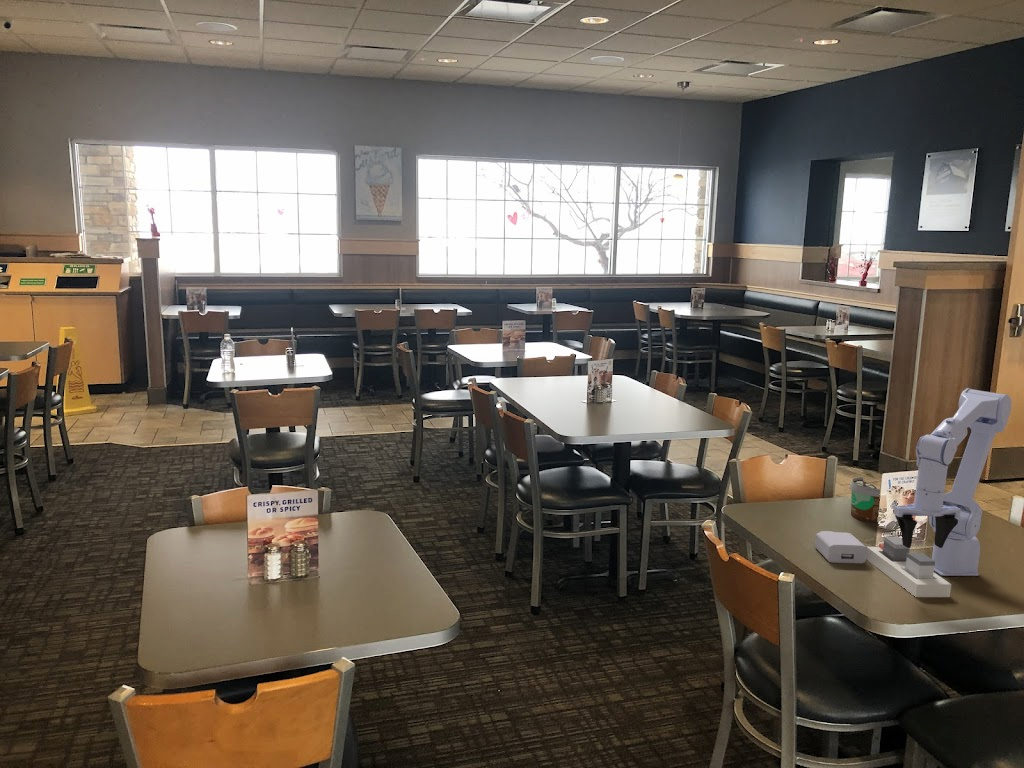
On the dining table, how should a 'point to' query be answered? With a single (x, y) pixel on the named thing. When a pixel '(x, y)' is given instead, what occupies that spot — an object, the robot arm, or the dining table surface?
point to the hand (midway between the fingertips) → (922, 546)
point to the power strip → (908, 576)
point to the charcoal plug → (895, 549)
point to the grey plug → (919, 566)
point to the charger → (840, 547)
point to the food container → (864, 500)
